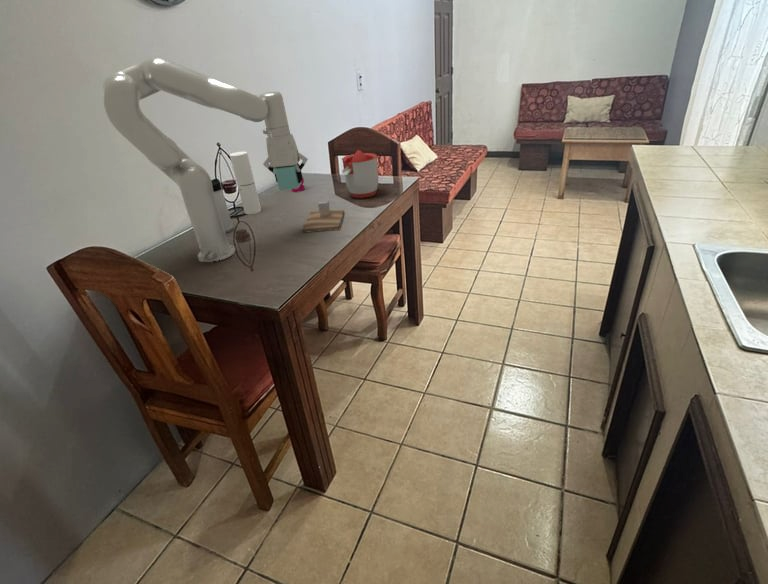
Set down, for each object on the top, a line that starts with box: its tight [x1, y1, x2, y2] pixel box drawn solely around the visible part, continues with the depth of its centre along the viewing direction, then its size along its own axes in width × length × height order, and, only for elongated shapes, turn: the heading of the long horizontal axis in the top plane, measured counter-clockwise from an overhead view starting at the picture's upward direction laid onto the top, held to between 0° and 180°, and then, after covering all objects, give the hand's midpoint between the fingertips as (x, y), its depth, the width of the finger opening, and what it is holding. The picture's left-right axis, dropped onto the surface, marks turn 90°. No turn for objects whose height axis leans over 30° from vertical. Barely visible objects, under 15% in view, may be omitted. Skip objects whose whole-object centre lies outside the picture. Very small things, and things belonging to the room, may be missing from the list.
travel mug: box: [211, 178, 234, 234], centre depth 163 cm, size 6×7×20 cm
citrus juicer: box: [341, 149, 379, 199], centre depth 187 cm, size 16×17×20 cm
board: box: [302, 209, 345, 233], centre depth 166 cm, size 18×14×2 cm
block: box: [318, 199, 331, 217], centre depth 168 cm, size 4×4×6 cm
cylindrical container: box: [229, 151, 262, 215], centre depth 179 cm, size 7×7×25 cm
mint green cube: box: [275, 166, 302, 191], centre depth 151 cm, size 7×7×8 cm
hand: (290, 182), depth 153 cm, fingers closed on mint green cube, 6 cm apart
